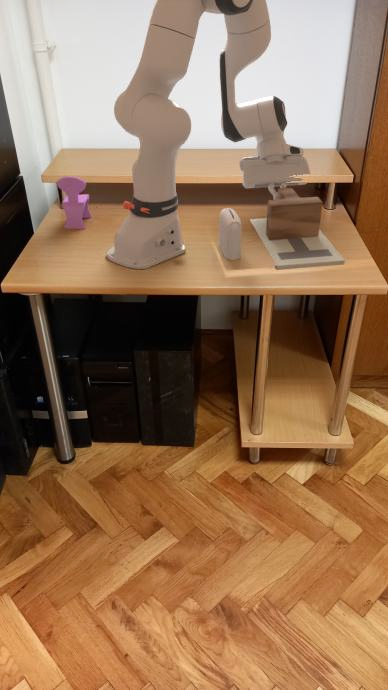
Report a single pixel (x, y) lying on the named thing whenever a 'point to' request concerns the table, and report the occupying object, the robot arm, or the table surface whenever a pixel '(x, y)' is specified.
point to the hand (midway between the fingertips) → (279, 198)
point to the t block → (293, 216)
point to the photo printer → (230, 234)
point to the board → (298, 250)
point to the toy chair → (74, 201)
